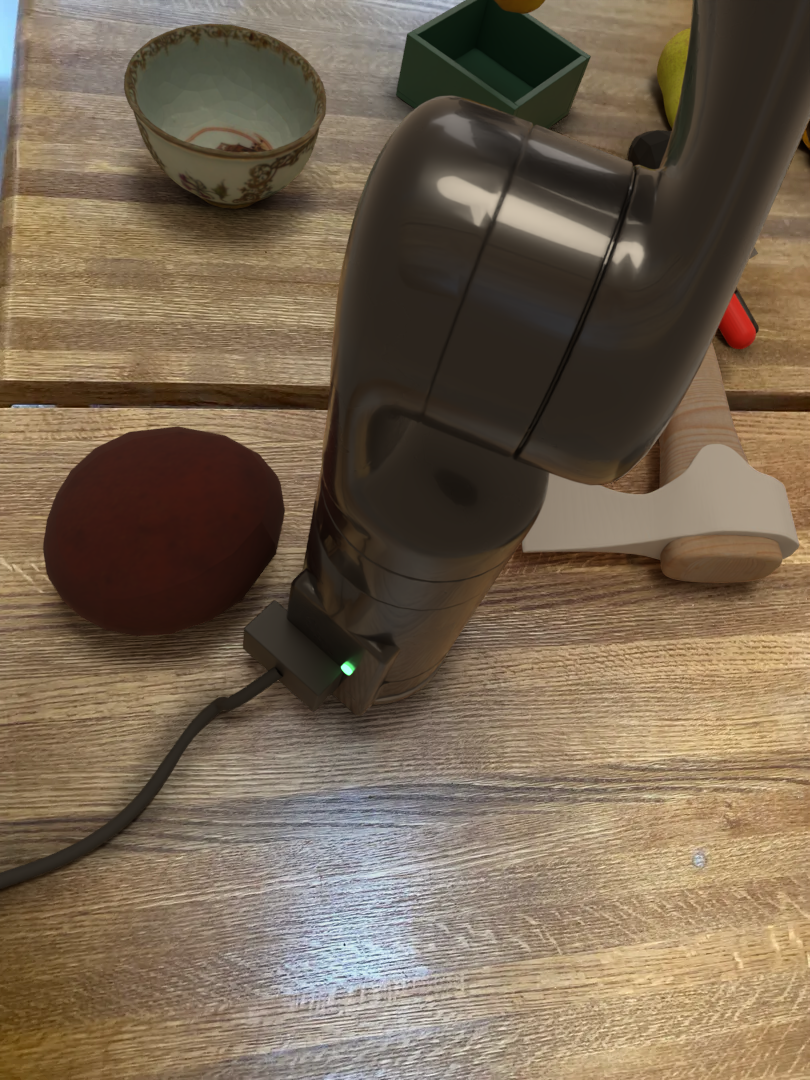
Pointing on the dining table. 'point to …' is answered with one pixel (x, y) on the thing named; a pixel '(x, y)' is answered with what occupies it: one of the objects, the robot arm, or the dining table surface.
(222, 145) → the bowl
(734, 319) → the toy gun
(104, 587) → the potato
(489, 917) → the dining table surface
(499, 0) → the apple
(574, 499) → the axe
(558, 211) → the robot arm
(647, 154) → the gaming mouse
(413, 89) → the bin
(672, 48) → the fruit
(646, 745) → the dining table surface
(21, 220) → the dining table surface
